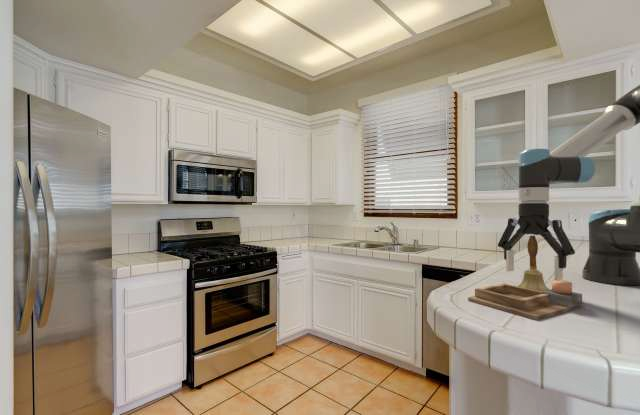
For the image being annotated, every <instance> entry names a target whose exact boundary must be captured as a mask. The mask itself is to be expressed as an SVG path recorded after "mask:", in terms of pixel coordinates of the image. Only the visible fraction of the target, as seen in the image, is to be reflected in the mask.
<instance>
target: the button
mask: <svg viewBox="0 0 640 415" xmlns="http://www.w3.org/2000/svg"><path fill="white" fill-rule="evenodd" d="M551 289H552V291H553V292H556V293H562V294H572V292H573V283H572V282H571V281H567V280H552V281H551Z"/></svg>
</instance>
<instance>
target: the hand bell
mask: <svg viewBox="0 0 640 415" xmlns="http://www.w3.org/2000/svg"><path fill="white" fill-rule="evenodd" d="M526 245H527V251H528V252H527V253H528V255H529V269H527V270H525V271H524V273H523V279H522V281H521V282H520V284H518V285H517V287H522V288H527V289H531V290H536V291H541V292H542V291H546V290H550V288H549V287H547V285H546V283H545V281H544V276H543V275H544V274H543V272H542V271H540V270H538V268H537V254H538V252H539V251H538V250H539V246H538V241H537V239H536V235H530V236H529V238H528V241H527V244H526Z"/></svg>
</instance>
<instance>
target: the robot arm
mask: <svg viewBox="0 0 640 415" xmlns="http://www.w3.org/2000/svg"><path fill="white" fill-rule="evenodd" d="M638 124H640V84H639V85H637V86H635V87H634V88H632V89H631V90H630V91H628V92H627V93H625V94H624V95H623V96H621V97H619V99H617V100H616V101H615V102H613V103H612V104H610V105H609V106H607V107H606V108H605V109H604V112H603V114H602V115H601V116H599V117H598V118H596V119H595V120H594V121H592V122H591V123H589V124H588V125H586V126H585V127H584V128H582V129H581V130H580V131H578V132H577V133H575V134H574V135H573V136H571V137H570V138H568V139H567V140H566V141H564V142H563V143H562V144H560V145H559V146H557V147H556V148H554V149H553V150H552V151H550V150H549V149H547V148H530V149H525V150H522V151H521V152H520V153H519V156H518V158H519V159H518V166H517V167H518V201H519V202H520V203H518V218H515V217H514V218H512V217H511V218H508V219H507V226H506V227H505V229H504V232H503V233H502V235H501V237H500V239H499V241H498V243H497V246H498V247H499V248H501V249H503V252H504V253H503V259H504V260H505V261H506V262H505V265H506V266H505V271H506V272H507V273H508V272H509V273H510V272H514V271H515V250H514V249H513V247H515V245H516V244H517V243H518V242H519V241H520V240H521V239H522V238H523V237H524V236H525V235H533V236H540V237H542V238H543V239H544V241H545V242H547V244H548V245H549V246H550V247H551V249H553V251H554V252H555V254H556V255H555V256H554V270H553V271H554V273H553V274H554V276H553V278H554V280H561V281H564V280H563V279H564V277H563V276H564V269H566V268H567V257H568V256H572V255H575V254H576V251H575V249H574V247H573V245H572V244H571V241H570V240H569V238H568V236H567V234H566V233H565V231H564V228H563V224H562V220H560V219H553V220H550V219H549V216H550V204H549V203H547V202H549V201H550V185H556V184H557V185H558V184H567V183H569V184H571V183H573V184H578V183H587V182H589V181H590V180H592V179H593V177H594V176H595V173H596V164H595V162H594V161H593V159H592V158H591V157H587V156H588V155H590V154H591V153H592V152H593V151H595V150H597V149H598V148H599V147H601V146H602V145H604V144H605V143H607V142H608V141H610V140H612V138H614V137H615V136H617V135H618V134H619V133H621V132H623V131H627V130H630V129H632V128H633V127H635V126H637V125H638ZM638 197H639V198H638V201H636V202H634V203H633V204H631V205H630V208H627V209H624V208H623V209H621V208H619V209H605V210H597V211H593V212H591V213H590V214H589V218H588V219H589V220H588V223H587V225H588V257H587V260H586V261H585V264H584V267H583V268H582V272H581V273H582V278H583V279H585V280H589V281H591V282H592V281H593V282H598V283H603V284H610V285H622V286H623V285H624V286H640V266H639V263H638V260H637V259H636V257H637V253H639V254H640V196H638ZM517 225H518V226H519V228H518V229H517V230H516V231H515V229H516V227H517ZM549 227H551V228H552V231H553V232H554V234H555V236H556V238H557V239H556V238H555V237H554V236H553V234H552V232H551V231H550V230H549ZM514 231H515V233H514ZM513 233H514V234H513ZM511 236H512V237H511ZM557 240H558V241H557Z"/></svg>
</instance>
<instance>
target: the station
mask: <svg viewBox="0 0 640 415" xmlns="http://www.w3.org/2000/svg"><path fill="white" fill-rule="evenodd" d="M467 301H469V302H473V303H476V304H480V305H483V306H485V307H486V306H487V307H490V308H493V309H496V310H500V311H503V312H507V313H510V314H514V315H518V316H522V317H524V318H527V319H528V318H529V319H532V320H536V321H538V320H542V319H545V318H549V317H552V316H555V315H556V316H557V315H559V314H563V313H566V312H570V311H573V310H576V309H580V308H581V309H582V308H583V307H584V303H583V293H580V292H579V293H578V292H576V291H575V292H574V291H572V294H562V293H556V292H553V291H552V288H551V289H549V290H546V291H542V292H541V291H536V290H531V289H527V288H522V287H518V285H512V284H508V283H500V284H495V285H494V284H493V285H488V286H483V287H478V288H474V295H473V296H472V295H471V296H469V297H467Z"/></svg>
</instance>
